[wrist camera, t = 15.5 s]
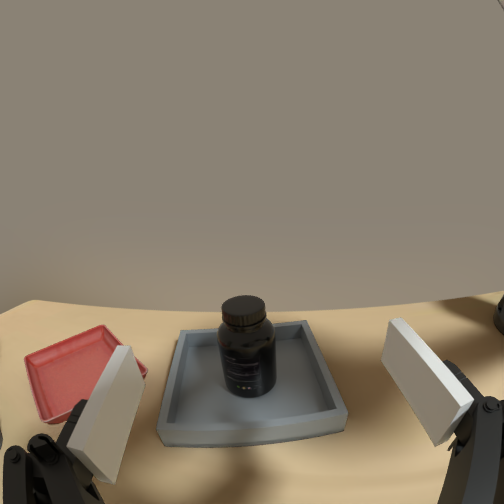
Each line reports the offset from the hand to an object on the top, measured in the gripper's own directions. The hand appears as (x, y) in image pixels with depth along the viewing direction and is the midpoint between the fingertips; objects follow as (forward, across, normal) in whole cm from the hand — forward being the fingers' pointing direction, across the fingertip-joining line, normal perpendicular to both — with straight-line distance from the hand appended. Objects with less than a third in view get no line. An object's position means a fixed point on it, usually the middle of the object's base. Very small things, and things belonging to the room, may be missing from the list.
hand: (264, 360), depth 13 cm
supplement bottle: (+17, -1, -18) cm, 24 cm away
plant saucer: (+17, -28, -19) cm, 37 cm away
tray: (+17, -2, -18) cm, 25 cm away
